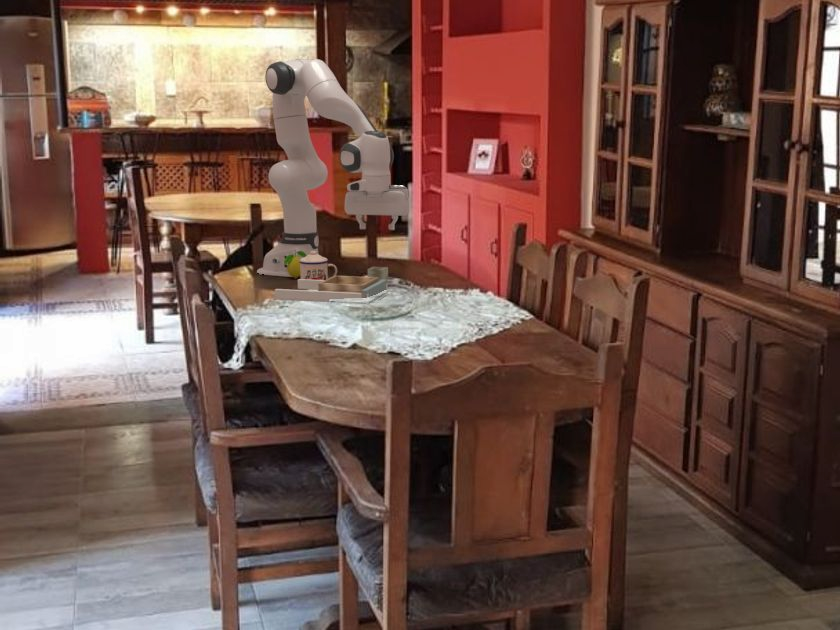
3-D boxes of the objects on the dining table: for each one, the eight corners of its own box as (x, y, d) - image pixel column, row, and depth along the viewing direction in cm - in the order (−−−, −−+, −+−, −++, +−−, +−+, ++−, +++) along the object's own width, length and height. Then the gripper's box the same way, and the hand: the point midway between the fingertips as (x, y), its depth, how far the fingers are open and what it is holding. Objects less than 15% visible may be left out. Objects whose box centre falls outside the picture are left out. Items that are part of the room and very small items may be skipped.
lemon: (308, 277, 363) (307, 247, 361) (304, 280, 357) (303, 250, 355) (288, 276, 364) (287, 247, 361) (284, 280, 358) (283, 250, 356)
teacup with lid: (302, 290, 338) (301, 254, 336) (297, 285, 347) (296, 250, 345) (340, 288, 342) (339, 252, 339) (334, 283, 350) (333, 248, 348)
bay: (274, 303, 319) (274, 286, 318) (299, 291, 337) (299, 275, 336) (367, 307, 311) (366, 290, 310) (387, 295, 329) (387, 279, 328)
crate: (318, 299, 318) (318, 283, 317) (335, 291, 331) (335, 275, 330) (363, 301, 314) (363, 285, 313) (379, 293, 327) (378, 277, 326)
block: (368, 291, 337) (367, 269, 336) (373, 288, 342) (372, 266, 340) (383, 291, 336) (382, 269, 334) (388, 289, 340) (387, 267, 339)
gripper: (411, 184, 332) (412, 229, 335) (349, 183, 338) (350, 227, 340) (405, 186, 326) (406, 231, 329) (342, 185, 332) (343, 229, 335)
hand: (377, 229), depth 335 cm, fingers open, 8 cm apart
